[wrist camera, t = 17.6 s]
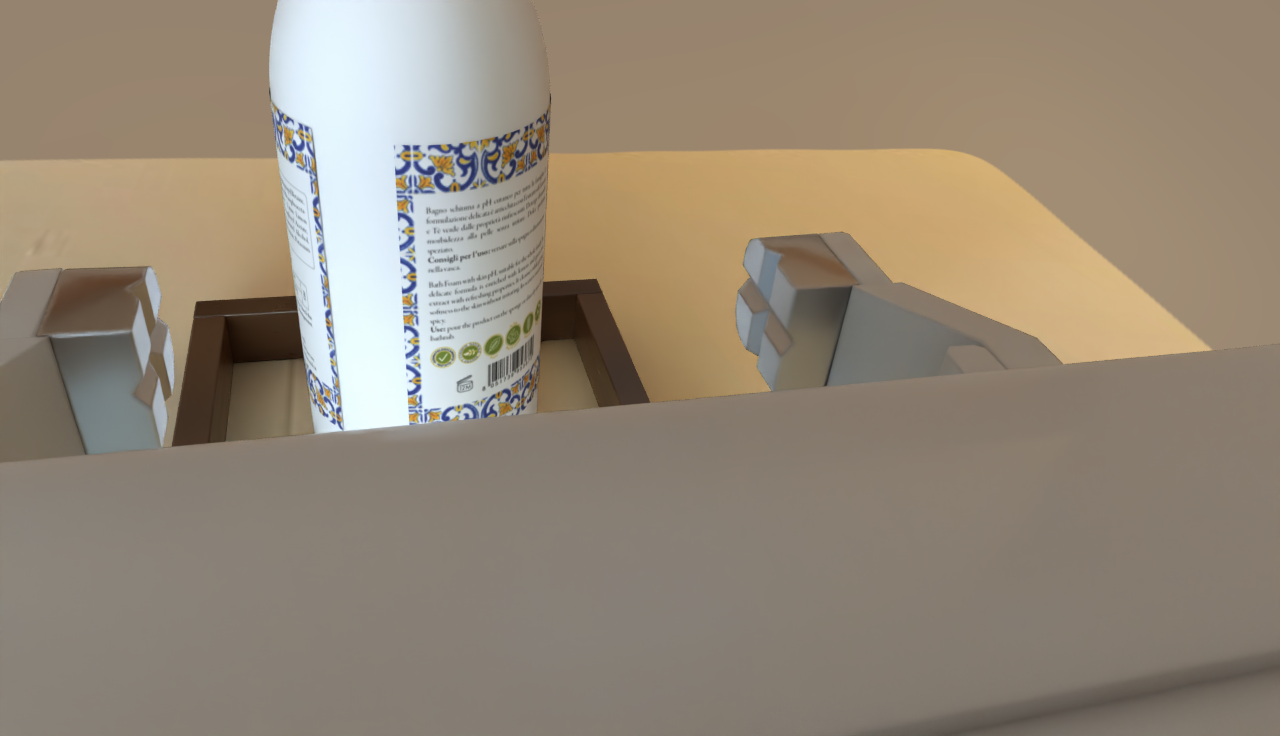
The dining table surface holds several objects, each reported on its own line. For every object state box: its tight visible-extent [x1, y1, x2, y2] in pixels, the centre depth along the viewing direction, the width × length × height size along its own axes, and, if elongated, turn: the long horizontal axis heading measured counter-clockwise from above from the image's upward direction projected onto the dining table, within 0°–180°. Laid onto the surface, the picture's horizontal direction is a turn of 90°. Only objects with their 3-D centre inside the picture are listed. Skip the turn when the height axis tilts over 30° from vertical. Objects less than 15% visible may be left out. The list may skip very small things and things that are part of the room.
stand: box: [172, 279, 650, 447], centre depth 31 cm, size 13×14×2 cm
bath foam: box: [269, 0, 551, 434], centre depth 26 cm, size 7×7×20 cm
